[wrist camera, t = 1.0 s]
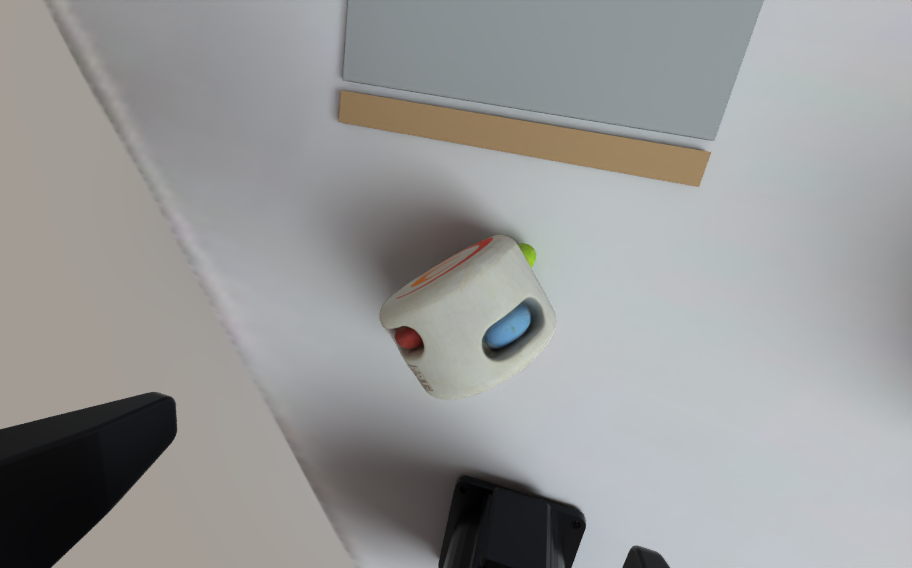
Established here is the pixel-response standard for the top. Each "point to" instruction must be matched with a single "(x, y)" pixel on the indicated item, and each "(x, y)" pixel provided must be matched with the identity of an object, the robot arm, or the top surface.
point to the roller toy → (471, 319)
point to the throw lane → (553, 74)
